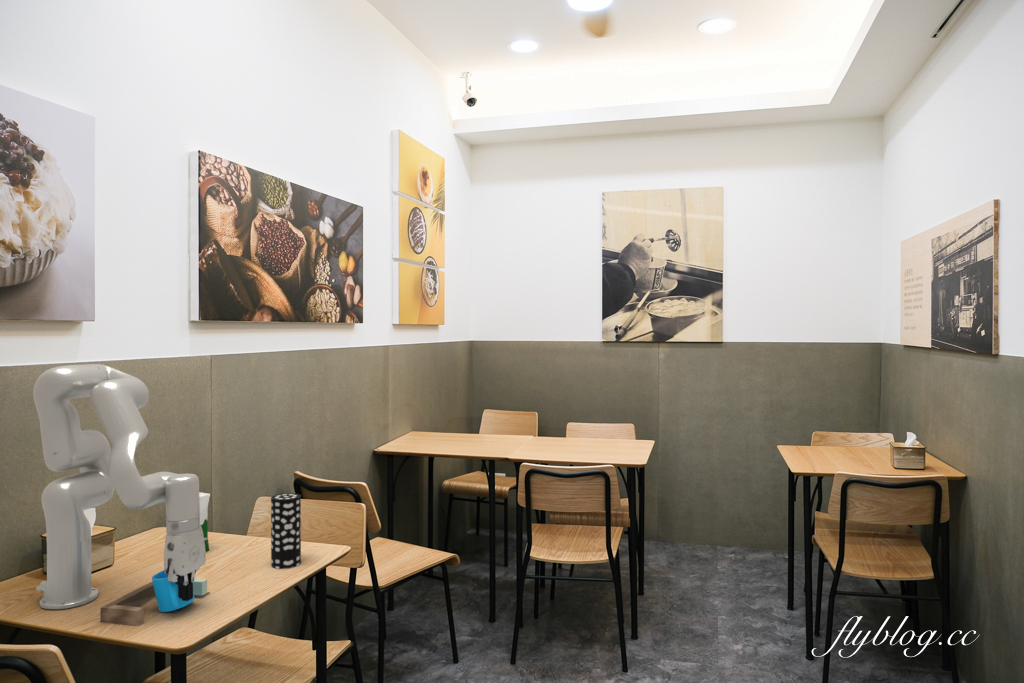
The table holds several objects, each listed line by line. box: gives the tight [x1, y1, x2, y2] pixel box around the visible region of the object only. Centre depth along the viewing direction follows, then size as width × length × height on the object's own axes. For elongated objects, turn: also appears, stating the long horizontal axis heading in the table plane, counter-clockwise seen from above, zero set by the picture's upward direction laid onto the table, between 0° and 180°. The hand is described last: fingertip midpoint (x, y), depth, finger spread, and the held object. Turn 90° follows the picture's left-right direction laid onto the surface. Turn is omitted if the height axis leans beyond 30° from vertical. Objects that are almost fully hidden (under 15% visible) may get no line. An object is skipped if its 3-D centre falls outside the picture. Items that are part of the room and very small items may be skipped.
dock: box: [99, 581, 211, 627], centre depth 170 cm, size 14×21×4 cm, turn 169°
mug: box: [151, 569, 196, 613], centre depth 168 cm, size 12×8×8 cm
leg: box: [193, 578, 208, 596], centre depth 179 cm, size 12×2×4 cm, turn 77°
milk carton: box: [199, 491, 211, 553], centre depth 213 cm, size 9×9×20 cm
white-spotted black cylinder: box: [270, 492, 302, 570], centre depth 202 cm, size 8×8×20 cm
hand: (185, 599), depth 168 cm, fingers closed
